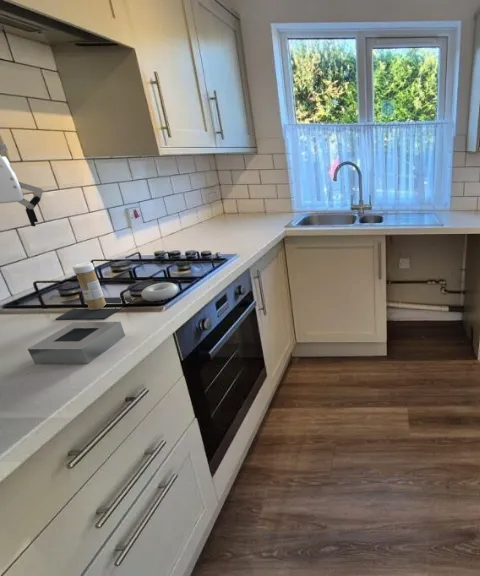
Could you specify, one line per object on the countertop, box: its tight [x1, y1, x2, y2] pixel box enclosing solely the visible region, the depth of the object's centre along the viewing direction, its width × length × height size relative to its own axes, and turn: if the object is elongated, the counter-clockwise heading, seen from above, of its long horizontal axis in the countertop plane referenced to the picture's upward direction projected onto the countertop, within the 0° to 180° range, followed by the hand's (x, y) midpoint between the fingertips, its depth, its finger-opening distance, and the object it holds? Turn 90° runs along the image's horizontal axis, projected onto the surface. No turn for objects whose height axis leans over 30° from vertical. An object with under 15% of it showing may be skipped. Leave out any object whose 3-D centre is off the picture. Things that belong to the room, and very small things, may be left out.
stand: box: [27, 321, 126, 365], centre depth 85 cm, size 12×12×4 cm
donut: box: [140, 282, 179, 303], centre depth 113 cm, size 10×4×10 cm
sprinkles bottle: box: [72, 261, 107, 310], centre depth 104 cm, size 5×5×14 cm
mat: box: [55, 296, 132, 321], centre depth 106 cm, size 14×14×1 cm
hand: (5, 228), depth 84 cm, fingers open, 9 cm apart
